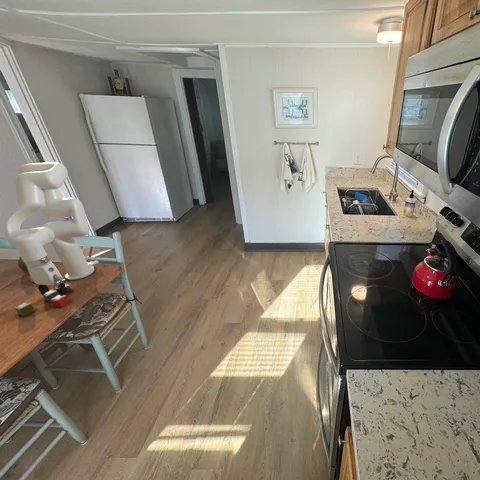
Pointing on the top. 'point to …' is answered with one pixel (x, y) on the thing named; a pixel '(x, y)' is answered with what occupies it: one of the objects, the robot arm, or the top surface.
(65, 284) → the walnut letter block
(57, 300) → the red letter block
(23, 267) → the brown kiwi fruit
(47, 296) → the slate-blue letter block
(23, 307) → the olive letter block
